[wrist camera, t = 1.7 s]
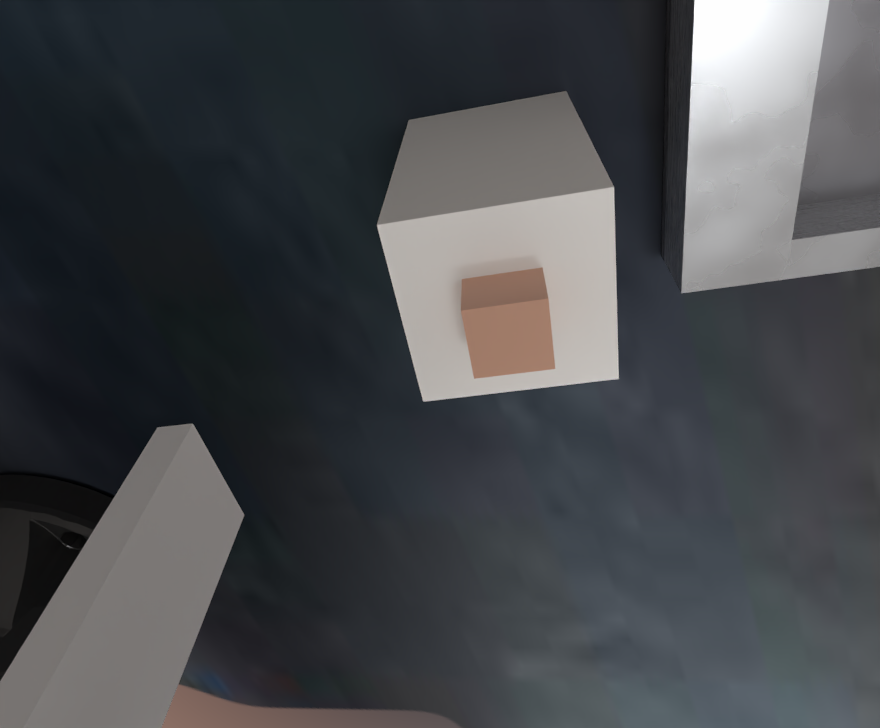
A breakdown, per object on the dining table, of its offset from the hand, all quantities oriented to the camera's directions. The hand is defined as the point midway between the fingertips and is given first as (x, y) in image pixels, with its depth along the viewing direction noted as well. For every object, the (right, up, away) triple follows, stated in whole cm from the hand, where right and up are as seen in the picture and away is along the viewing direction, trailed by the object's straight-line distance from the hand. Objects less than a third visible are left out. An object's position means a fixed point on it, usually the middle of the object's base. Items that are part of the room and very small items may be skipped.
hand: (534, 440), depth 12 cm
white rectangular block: (0, +8, +11) cm, 14 cm away
